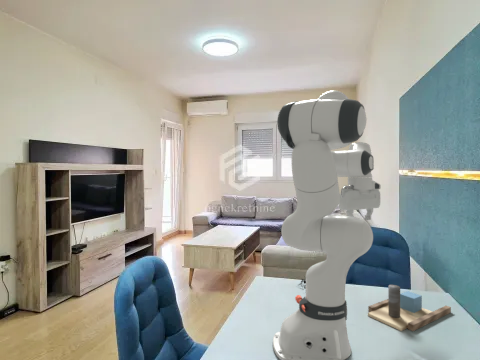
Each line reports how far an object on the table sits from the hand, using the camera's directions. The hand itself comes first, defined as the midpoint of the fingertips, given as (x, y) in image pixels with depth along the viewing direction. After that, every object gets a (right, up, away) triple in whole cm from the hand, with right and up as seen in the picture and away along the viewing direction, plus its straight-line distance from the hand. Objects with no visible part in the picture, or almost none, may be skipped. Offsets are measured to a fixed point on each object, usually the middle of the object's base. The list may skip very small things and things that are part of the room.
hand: (360, 220), depth 115 cm
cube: (+15, -31, -8) cm, 35 cm away
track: (+14, -33, -8) cm, 37 cm away
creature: (-17, -33, +20) cm, 42 cm away
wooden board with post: (+10, -32, -11) cm, 35 cm away
